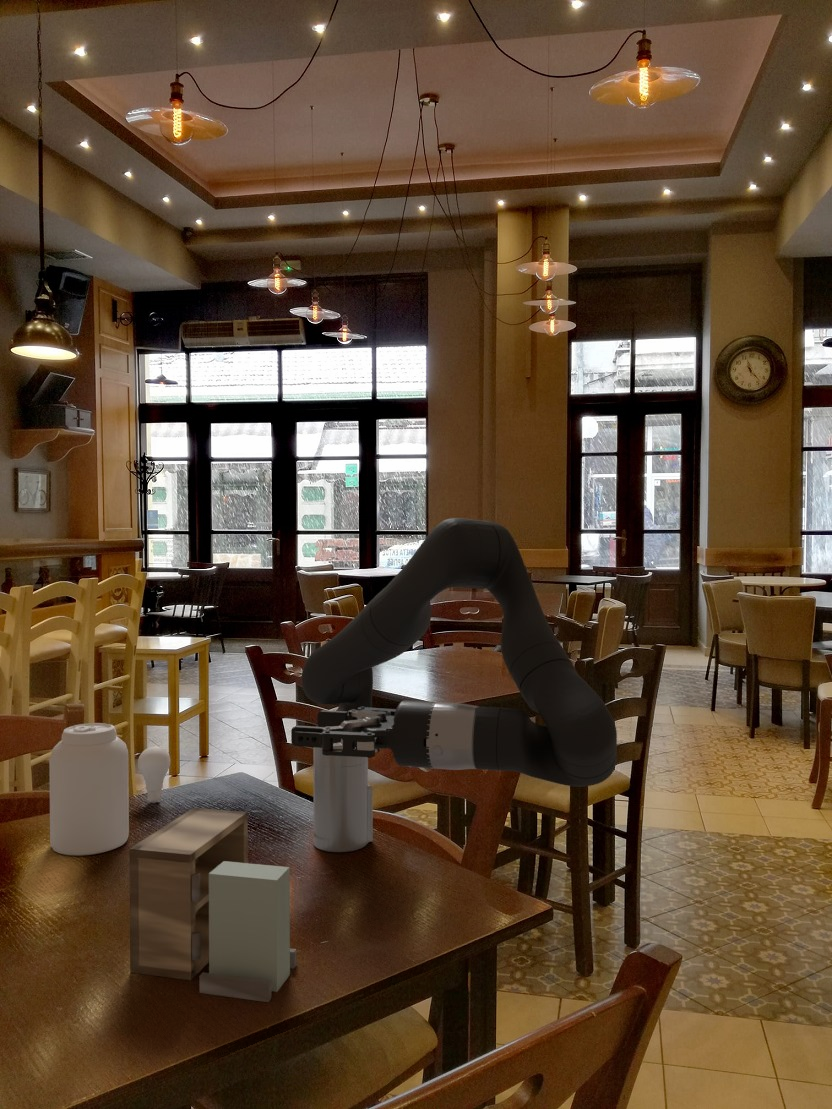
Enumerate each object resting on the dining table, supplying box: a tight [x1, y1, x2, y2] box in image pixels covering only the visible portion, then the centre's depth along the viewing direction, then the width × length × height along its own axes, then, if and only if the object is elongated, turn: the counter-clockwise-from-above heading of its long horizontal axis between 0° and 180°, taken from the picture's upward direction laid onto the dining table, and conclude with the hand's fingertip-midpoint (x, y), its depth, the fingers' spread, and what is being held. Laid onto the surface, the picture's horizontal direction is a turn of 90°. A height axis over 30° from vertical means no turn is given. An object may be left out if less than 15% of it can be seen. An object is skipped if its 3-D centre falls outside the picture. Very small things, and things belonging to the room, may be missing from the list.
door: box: [208, 861, 291, 993], centre depth 104 cm, size 5×8×13 cm, turn 77°
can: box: [48, 722, 130, 856], centre depth 148 cm, size 12×12×20 cm
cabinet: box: [128, 807, 297, 1003], centre depth 109 cm, size 18×19×15 cm
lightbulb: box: [137, 746, 171, 804], centre depth 170 cm, size 6×6×11 cm
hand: (305, 727), depth 104 cm, fingers open, 8 cm apart
